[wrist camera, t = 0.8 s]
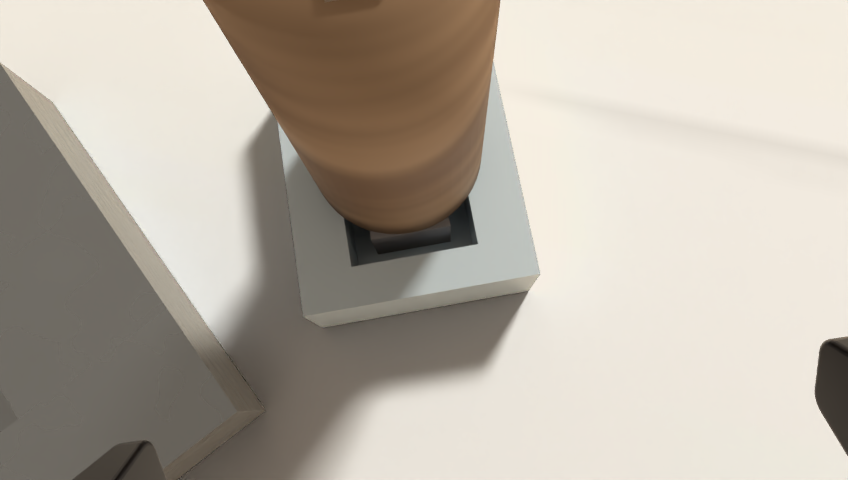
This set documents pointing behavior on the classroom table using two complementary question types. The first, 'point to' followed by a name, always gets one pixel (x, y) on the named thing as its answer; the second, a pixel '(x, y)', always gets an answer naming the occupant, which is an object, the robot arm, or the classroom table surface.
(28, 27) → the classroom table surface
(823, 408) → the robot arm
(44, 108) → the hub plate
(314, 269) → the rest block
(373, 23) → the knob
